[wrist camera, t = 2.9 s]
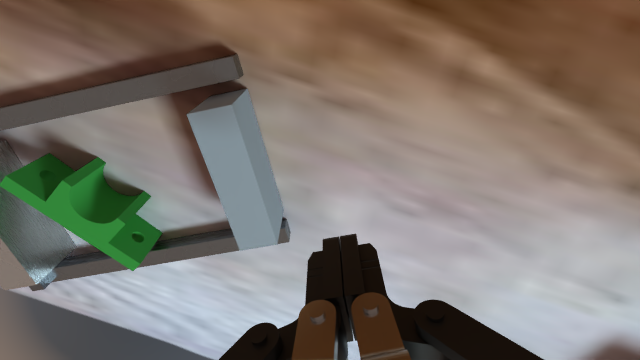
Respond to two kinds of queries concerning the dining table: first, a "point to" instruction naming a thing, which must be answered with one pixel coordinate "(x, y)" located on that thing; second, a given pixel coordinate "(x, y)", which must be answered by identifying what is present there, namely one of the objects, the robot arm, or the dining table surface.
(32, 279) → the vise
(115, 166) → the dining table surface
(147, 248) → the pipe clamp
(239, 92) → the block
